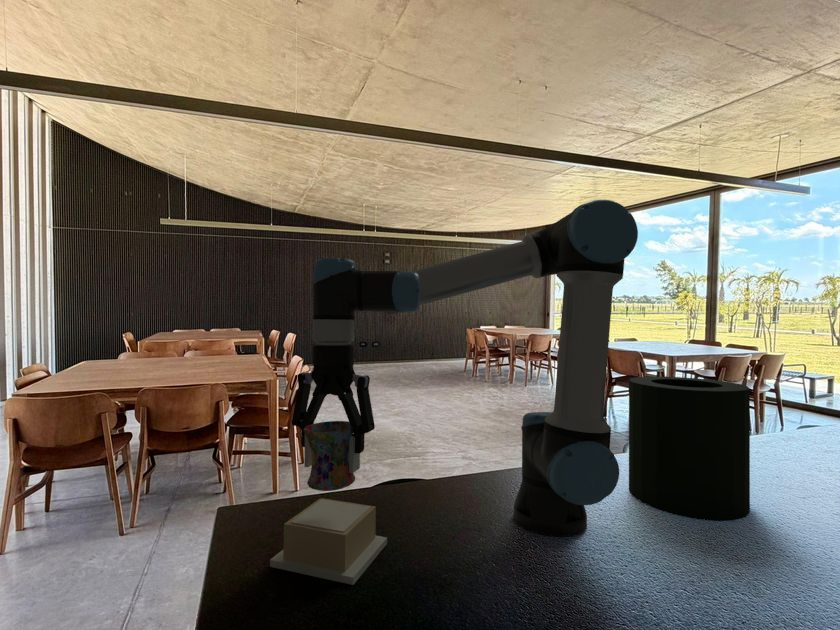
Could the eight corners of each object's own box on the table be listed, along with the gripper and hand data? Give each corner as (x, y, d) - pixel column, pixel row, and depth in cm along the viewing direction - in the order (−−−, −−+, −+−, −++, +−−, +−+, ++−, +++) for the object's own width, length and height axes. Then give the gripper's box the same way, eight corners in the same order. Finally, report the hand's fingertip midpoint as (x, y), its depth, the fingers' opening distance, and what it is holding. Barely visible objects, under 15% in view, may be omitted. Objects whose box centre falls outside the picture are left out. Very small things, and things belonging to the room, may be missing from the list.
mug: (359, 491, 76) (357, 429, 76) (303, 498, 74) (302, 434, 74) (354, 470, 88) (353, 416, 88) (306, 475, 86) (305, 420, 86)
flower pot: (632, 509, 101) (632, 386, 102) (626, 474, 125) (626, 374, 125) (766, 529, 92) (766, 394, 92) (732, 487, 115) (732, 379, 115)
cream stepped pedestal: (387, 543, 85) (387, 505, 85) (353, 585, 71) (353, 539, 72) (314, 530, 90) (314, 494, 90) (270, 566, 77) (270, 523, 77)
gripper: (395, 344, 81) (393, 468, 81) (295, 341, 88) (294, 455, 88) (378, 346, 74) (376, 482, 74) (271, 342, 81) (270, 467, 81)
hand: (331, 467), depth 81 cm, fingers closed on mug, 8 cm apart
